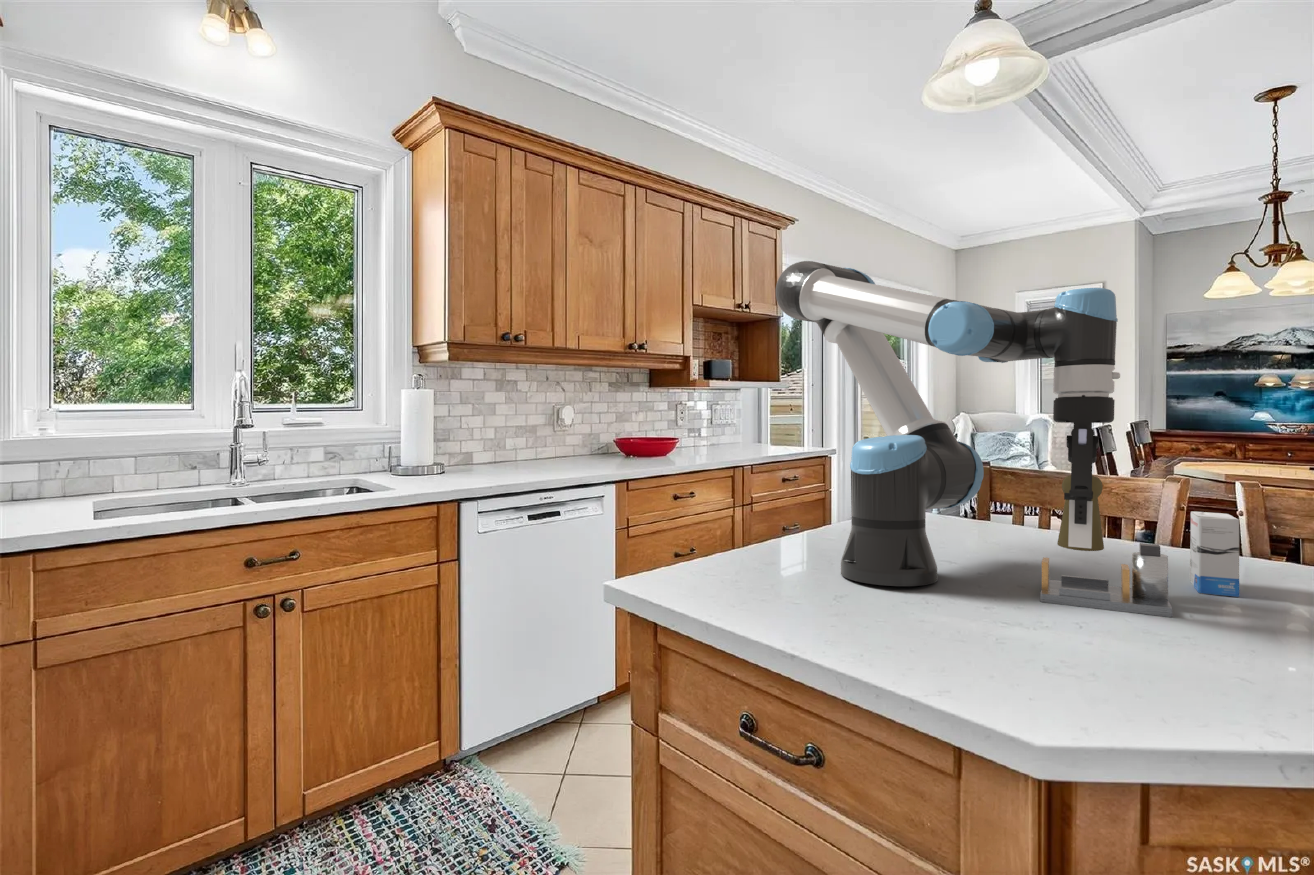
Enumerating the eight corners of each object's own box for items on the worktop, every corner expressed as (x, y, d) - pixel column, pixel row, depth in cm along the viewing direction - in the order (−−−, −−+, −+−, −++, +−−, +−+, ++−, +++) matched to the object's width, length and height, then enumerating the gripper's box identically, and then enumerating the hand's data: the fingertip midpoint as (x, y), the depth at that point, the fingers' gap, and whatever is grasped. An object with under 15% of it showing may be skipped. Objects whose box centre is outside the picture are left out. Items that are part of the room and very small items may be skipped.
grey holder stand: (1040, 601, 94) (1040, 542, 94) (1044, 586, 103) (1044, 532, 103) (1172, 617, 86) (1172, 552, 86) (1163, 599, 95) (1163, 540, 95)
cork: (1111, 551, 96) (1114, 477, 96) (1066, 550, 98) (1068, 477, 97) (1093, 542, 102) (1095, 472, 102) (1051, 541, 104) (1052, 472, 103)
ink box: (1241, 598, 96) (1241, 518, 96) (1197, 594, 99) (1197, 516, 99) (1228, 586, 103) (1228, 512, 103) (1188, 583, 106) (1188, 510, 106)
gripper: (1118, 391, 83) (1114, 557, 84) (1111, 398, 104) (1108, 531, 105) (1049, 392, 88) (1046, 550, 88) (1056, 399, 108) (1053, 527, 109)
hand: (1080, 540), depth 96 cm, fingers open, 13 cm apart
